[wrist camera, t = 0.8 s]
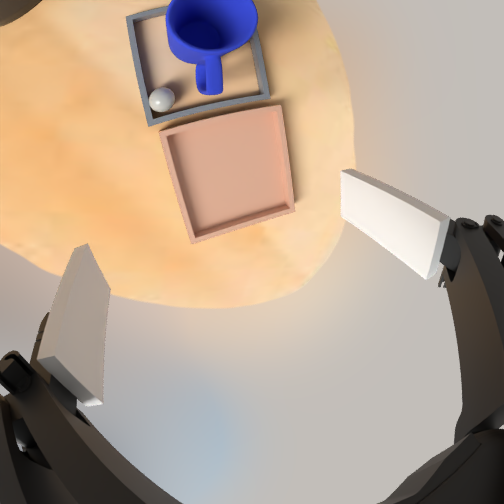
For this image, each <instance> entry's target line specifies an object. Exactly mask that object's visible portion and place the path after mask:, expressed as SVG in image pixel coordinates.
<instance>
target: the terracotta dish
mask: <svg viewBox="0 0 504 504" xmlns="http://www.w3.org/2000/svg"><path fill="white" fill-rule="evenodd" d="M159 135H160V139H161V143H162V147H163V150H164V154H165V158H166V161H167V165H168V169H169V172H170V176H171V179H172V183H173V186H174V189H175V193H176V196H177V200H178V203H179V206H180V209H181V213H182V216H183V219H184V222H185V226H186V229H187V232H188V235H189V238H190V241H191V244H195V243H198V242H201V241H204V240H207V239H210V238H213V237H216V236H219V235H222V234H225V233H228V232H231V231H235V230H238V229H241V228H244V227H247V226H250V225H253V224H257V223H260V222H263V221H266V220H269V219H273V218H276V217H279V216H282V215H286V214H289V213H292V212H295V204H294V195H293V187H292V178H291V171H290V163H289V155H288V148H287V141H286V134H285V127H284V121H283V114H282V108H281V105H272V106H265V107H259V108H253V109H248V110H242V111H237V112H232V113H227V114H223V115H218V116H214V117H210V118H205V119H201V120H197V121H193V122H190V123H186V124H182V125H179V126H175V127H172V128H168V129H165V130H162V131H159Z"/></svg>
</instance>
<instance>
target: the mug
mask: <svg viewBox="0 0 504 504" xmlns="http://www.w3.org/2000/svg"><path fill="white" fill-rule="evenodd" d="M257 23H258V14H257V9H256V7H255V5H254V3H253V1H252V0H172V1H171V3H170V4H169V6H168V9H167V12H166V27H167V35H168V42H169V46H170V49H171V51H172V53H173V54H174V55H175V56H176V57H177V58H178V59H180V60H182V61H184V62H187V63H191V64H197V65H196V84H197V88H198V91H199V92H200V93H202V94H204V95H217V94H220V93H222V92H223V75H222V64H221V56H223V55H225V54H227V53H229V52H231V51H233V50H235V49H237V48H239V47H241V46H242V45H243V44H245V43H246V42H247V41H248V40H249V39H250V38H251V37H252V35H253V34H254V32H255V30H256V27H257Z"/></svg>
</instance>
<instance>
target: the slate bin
mask: <svg viewBox="0 0 504 504" xmlns="http://www.w3.org/2000/svg"><path fill="white" fill-rule="evenodd" d="M167 9H168V6H165V7H161V8H156V9H152V10H148V11H144V12H141V13H137V14H134V15H130V16H127V17H126V21H127V27H128V33H129V39H130V45H131V50H132V56H133V61H134V66H135V71H136V75H137V80H138V85H139V89H140V94H141V98H142V102H143V107H144V111H145V115H146V119H147V123H148V127H149V126H152V125H156V124H159V123H162V122H165V121H169V120H172V119H176V118H179V117H183V116H187V115H191V114H194V113H199V112H203V111H207V110H211V109H216V108H220V107H225V106H230V105H235V104H240V103H246V102H252V101H258V100H265V99H270V93H269V87H268V82H267V76H266V71H265V66H264V61H263V55H262V50H261V45H260V40H259V36H258V31H257V27H256V30H255V32H254V34H253V35H252V37H251V38H250V44H251V49H252V54H253V59H254V64H255V69H256V74H257V80H258V85H259V90H260V95H255V96H249V97H243V98H237V99H232V100H227V101H222V102H217V103H212V104H208V105H203V106H199V107H195V108H191V109H187V110H183V111H180V112H176V113H172V114H169V115H165V116H162V117H159V118H155V119H153V117H152V112H151V108H150V105H149V100H148V95H147V91H146V87H145V82H144V77H143V73H142V68H141V63H140V58H139V53H138V47H137V42H136V36H135V31H134V25H133V23H135V22H138V21H142V20H146V19H150V18H153V17H158V16H162V15H166V12H167Z"/></svg>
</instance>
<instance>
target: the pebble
mask: <svg viewBox="0 0 504 504" xmlns="http://www.w3.org/2000/svg"><path fill="white" fill-rule="evenodd" d="M174 102H175V95H174V93H173V92H172V90H170V89H169V88H165V87H161V88H157V89H156V90H154V91H153V92H152V93H151V95H150V97H149V105H150V107H151V108H152V109H153V110H154V111H157V112H165V111H167V110H169V109H170V108H171V107H172V106H173V104H174Z"/></svg>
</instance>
